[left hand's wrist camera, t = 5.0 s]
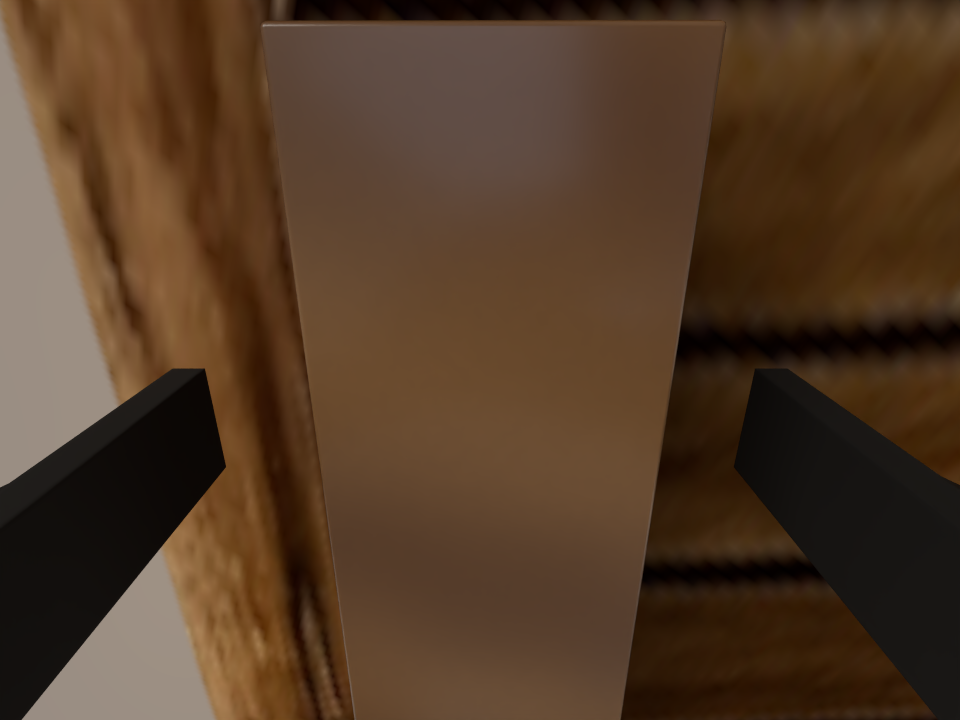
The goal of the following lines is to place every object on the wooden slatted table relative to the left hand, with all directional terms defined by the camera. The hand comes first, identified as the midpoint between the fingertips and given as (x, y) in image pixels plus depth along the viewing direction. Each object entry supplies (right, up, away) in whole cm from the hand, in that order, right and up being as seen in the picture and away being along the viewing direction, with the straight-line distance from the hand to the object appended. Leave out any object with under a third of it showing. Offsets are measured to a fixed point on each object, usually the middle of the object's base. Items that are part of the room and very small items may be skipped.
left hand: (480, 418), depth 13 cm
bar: (0, -24, +13) cm, 27 cm away
